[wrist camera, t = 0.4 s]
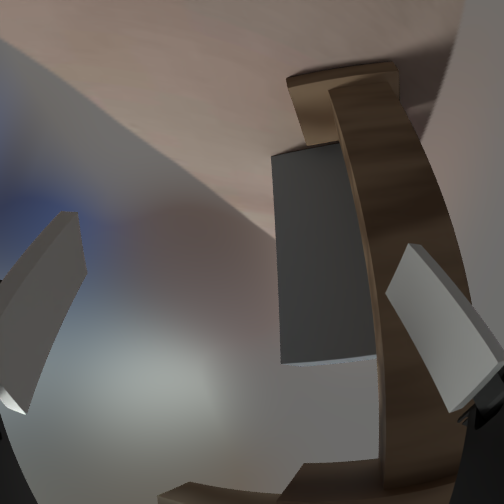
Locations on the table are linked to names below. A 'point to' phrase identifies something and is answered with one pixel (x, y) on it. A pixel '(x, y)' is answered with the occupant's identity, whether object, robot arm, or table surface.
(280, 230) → the grey block
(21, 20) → the table surface
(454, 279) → the walnut stand
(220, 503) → the pale wooden bar
